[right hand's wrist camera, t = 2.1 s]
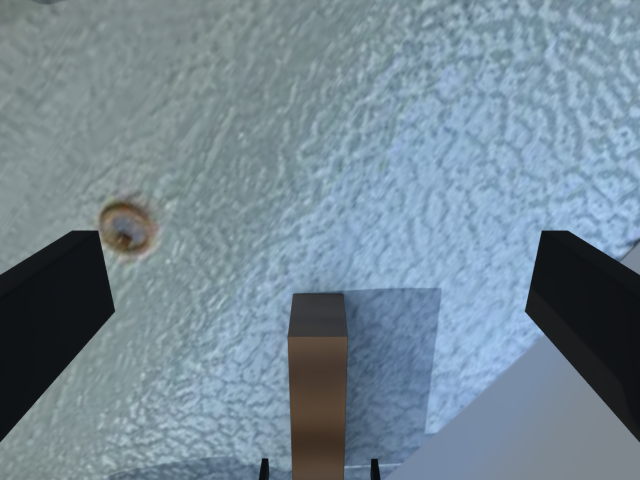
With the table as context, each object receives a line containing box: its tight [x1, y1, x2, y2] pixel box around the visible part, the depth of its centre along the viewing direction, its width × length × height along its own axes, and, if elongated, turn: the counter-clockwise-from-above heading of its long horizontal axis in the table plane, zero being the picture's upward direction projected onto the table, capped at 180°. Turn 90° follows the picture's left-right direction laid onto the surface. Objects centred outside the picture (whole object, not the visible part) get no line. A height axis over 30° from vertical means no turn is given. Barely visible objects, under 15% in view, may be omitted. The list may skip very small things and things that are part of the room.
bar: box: [288, 294, 348, 480], centre depth 46 cm, size 26×6×8 cm, turn 0°
